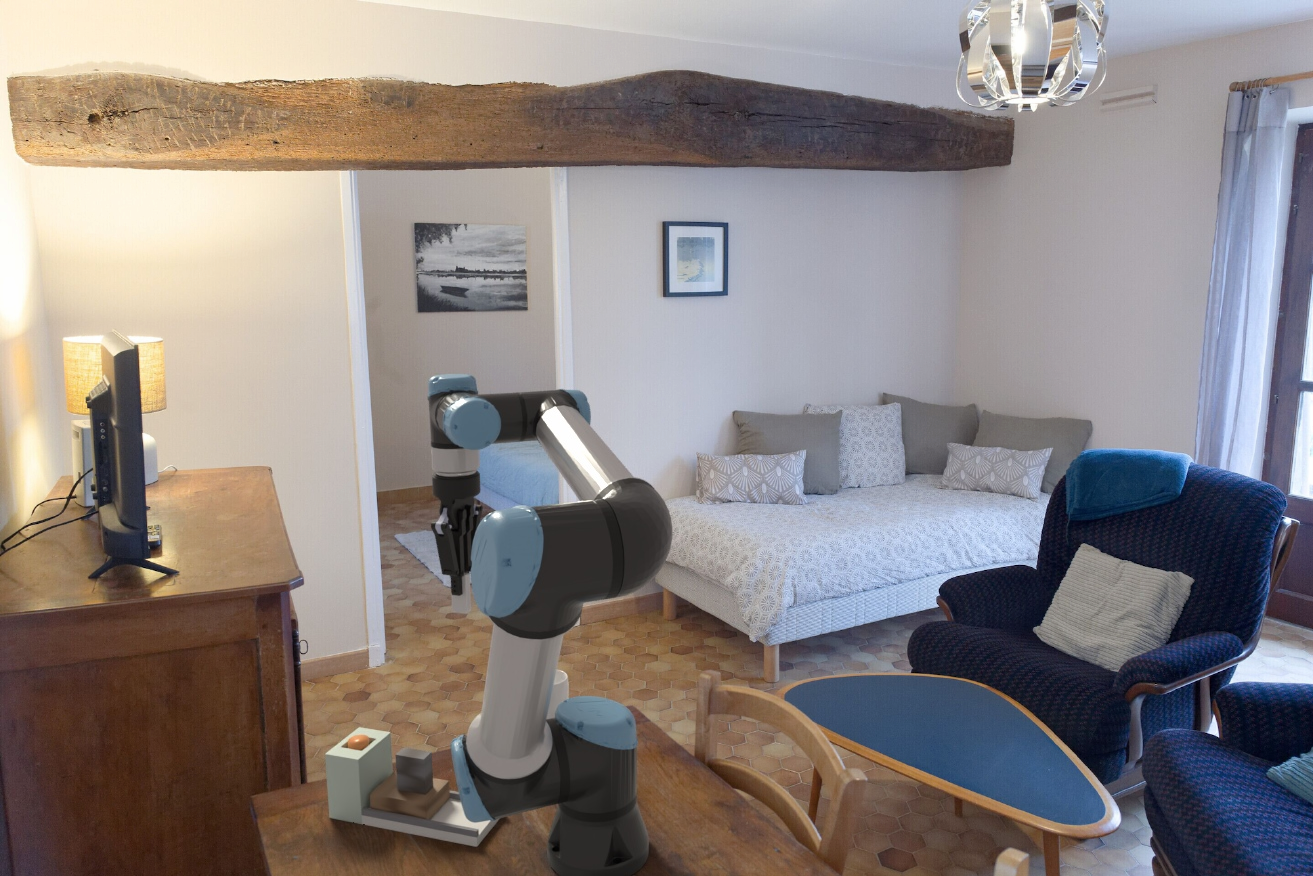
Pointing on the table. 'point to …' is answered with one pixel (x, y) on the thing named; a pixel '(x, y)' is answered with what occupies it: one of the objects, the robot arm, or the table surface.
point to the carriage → (411, 787)
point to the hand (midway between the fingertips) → (461, 611)
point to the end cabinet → (356, 773)
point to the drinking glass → (558, 692)
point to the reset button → (358, 742)
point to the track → (434, 823)
